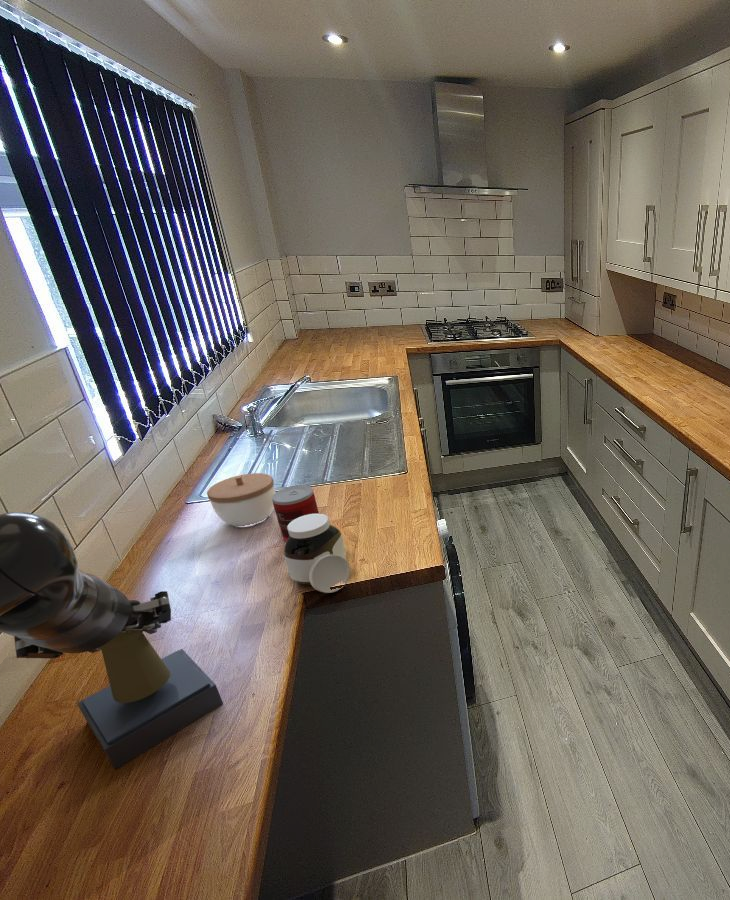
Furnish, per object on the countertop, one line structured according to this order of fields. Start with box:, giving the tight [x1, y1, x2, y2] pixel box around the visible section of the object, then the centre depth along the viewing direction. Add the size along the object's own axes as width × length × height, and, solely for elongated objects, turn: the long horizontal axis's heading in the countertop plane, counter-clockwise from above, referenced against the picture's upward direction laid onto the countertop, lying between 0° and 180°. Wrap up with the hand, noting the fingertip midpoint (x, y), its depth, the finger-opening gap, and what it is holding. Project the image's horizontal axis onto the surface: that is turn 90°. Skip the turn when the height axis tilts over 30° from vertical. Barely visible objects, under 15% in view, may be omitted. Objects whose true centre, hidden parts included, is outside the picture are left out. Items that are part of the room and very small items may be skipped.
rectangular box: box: [76, 648, 224, 771], centre depth 72 cm, size 12×12×4 cm
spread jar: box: [283, 513, 351, 594], centre depth 98 cm, size 12×11×12 cm
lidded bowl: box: [206, 472, 277, 527], centre depth 119 cm, size 13×13×11 cm
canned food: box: [272, 484, 320, 544], centre depth 112 cm, size 8×8×11 cm
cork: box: [97, 630, 170, 703], centre depth 68 cm, size 6×6×11 cm
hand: (124, 634), depth 69 cm, fingers closed on cork, 5 cm apart
